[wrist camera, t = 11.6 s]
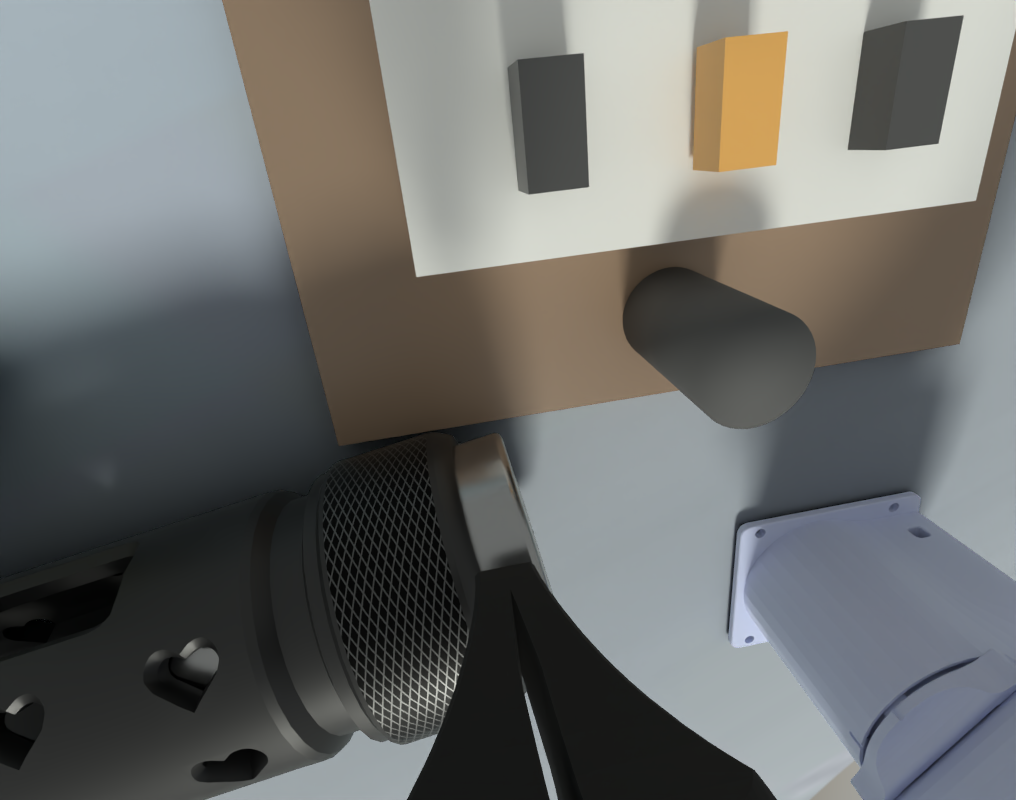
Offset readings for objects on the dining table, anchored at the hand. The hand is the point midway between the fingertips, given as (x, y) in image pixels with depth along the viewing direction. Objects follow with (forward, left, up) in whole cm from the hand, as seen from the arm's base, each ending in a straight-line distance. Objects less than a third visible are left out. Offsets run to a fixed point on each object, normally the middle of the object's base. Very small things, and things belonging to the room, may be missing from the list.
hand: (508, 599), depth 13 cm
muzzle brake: (+11, +11, -7) cm, 17 cm away
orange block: (-8, -10, -6) cm, 14 cm away
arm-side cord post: (-8, -3, -9) cm, 13 cm away
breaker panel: (-8, -10, -10) cm, 16 cm away
